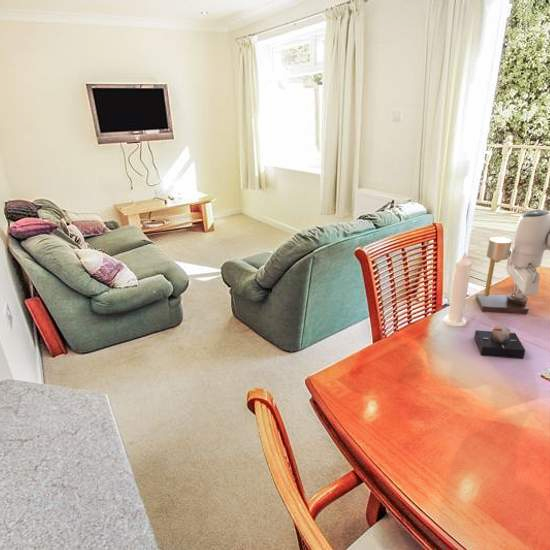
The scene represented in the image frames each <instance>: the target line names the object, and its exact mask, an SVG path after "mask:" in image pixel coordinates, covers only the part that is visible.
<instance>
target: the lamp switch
mask: <svg viewBox="0 0 550 550" xmlns="http://www.w3.org/2000/svg"><path fill="white" fill-rule="evenodd" d="M512 298H514V299H517V300H522V298H523V296H522V297H516V295H515V294H513V296H512Z"/></svg>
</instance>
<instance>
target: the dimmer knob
mask: <svg viewBox="0 0 550 550" xmlns="http://www.w3.org/2000/svg"><path fill="white" fill-rule="evenodd" d="M491 331H492V335H491V339H492V340H493V341H494V342H496V343H500V344H505V343H507V342H508V339H509V335H510V333H511V330H510V329H509V327H507V326H503V325H494V326H493V327H492V329H491Z"/></svg>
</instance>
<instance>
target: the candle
mask: <svg viewBox="0 0 550 550" xmlns="http://www.w3.org/2000/svg"><path fill="white" fill-rule="evenodd" d="M471 270H472V262H471V261H470V260H469V259H468V257H467V252H464V253H463V255H462V257H461V258H459V259H457V260H456V261H455V264H454V272H453V280H452V285H451V293H450V301H449V307H448V314H447V315H445V316H444V317H443V322H444V323H445V324H446V325H448V326H449V327H455V328H462V327H465V326H466V325H467V322H468V321H467V319H466V318H464V314H465V308H466V302H467V297H468V289H469V283H470V277H471Z"/></svg>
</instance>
